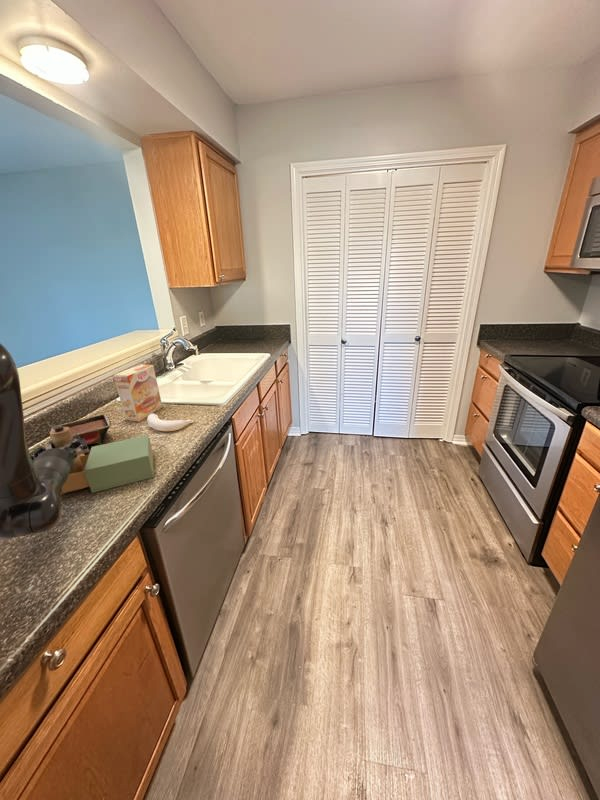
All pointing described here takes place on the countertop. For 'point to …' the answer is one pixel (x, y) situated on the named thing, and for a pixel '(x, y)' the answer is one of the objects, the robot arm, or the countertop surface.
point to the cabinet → (119, 463)
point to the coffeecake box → (138, 392)
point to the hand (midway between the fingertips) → (66, 439)
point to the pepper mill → (60, 439)
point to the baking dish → (90, 428)
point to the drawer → (77, 478)
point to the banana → (166, 423)
